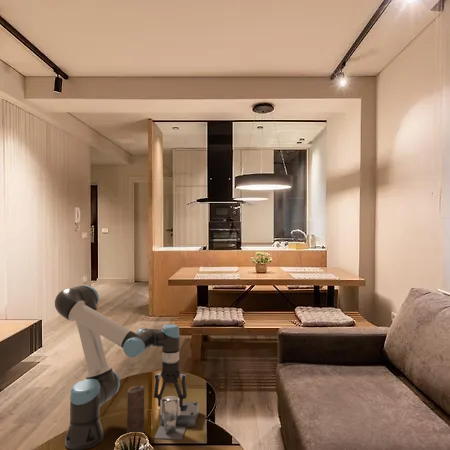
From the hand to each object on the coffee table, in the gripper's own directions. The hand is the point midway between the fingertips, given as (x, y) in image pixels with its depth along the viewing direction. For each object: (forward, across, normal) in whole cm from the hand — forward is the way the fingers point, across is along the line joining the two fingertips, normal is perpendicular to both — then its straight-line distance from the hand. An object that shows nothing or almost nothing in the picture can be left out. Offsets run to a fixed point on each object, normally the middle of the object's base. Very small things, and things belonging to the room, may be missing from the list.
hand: (170, 413), depth 159 cm
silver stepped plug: (+7, 0, 0) cm, 7 cm away
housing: (+8, +2, +13) cm, 16 cm away
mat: (+8, 0, 0) cm, 8 cm away
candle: (+8, -15, -2) cm, 17 cm away
